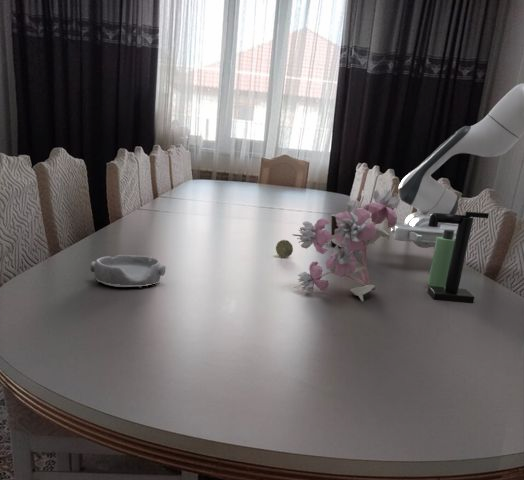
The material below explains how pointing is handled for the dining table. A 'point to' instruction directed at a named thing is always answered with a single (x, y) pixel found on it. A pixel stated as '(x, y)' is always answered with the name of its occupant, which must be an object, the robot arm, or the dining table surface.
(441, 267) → the soap bottle
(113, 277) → the dish
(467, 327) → the dining table surface
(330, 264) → the flower
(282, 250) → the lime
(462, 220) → the faucet
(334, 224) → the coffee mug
